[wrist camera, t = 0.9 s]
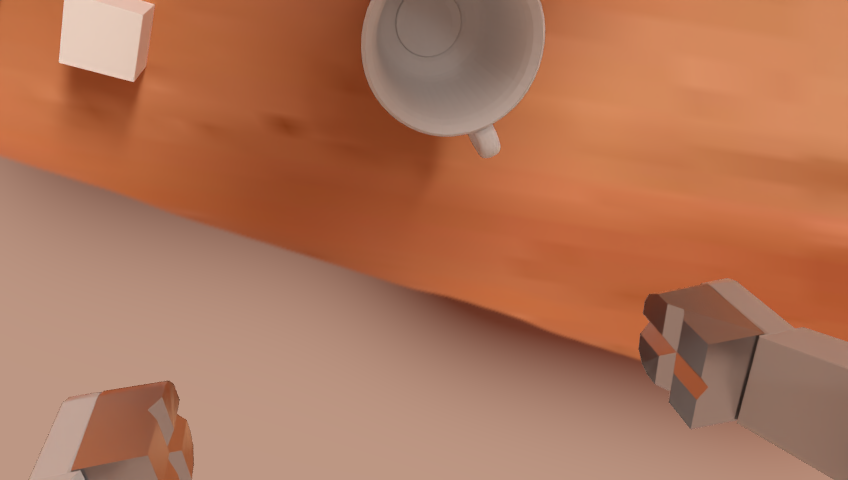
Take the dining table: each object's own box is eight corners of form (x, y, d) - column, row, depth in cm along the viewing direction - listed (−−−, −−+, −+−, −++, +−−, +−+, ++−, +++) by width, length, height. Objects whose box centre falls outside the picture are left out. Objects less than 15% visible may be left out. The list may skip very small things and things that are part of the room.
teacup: (397, 149, 52) (420, 200, 44) (318, -26, 44) (327, -7, 36) (527, 90, 52) (576, 129, 43) (471, -96, 44) (516, -94, 36)
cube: (84, -18, 42) (64, -9, 38) (155, 4, 43) (143, 14, 39) (78, 47, 44) (58, 62, 40) (146, 66, 45) (133, 82, 41)
